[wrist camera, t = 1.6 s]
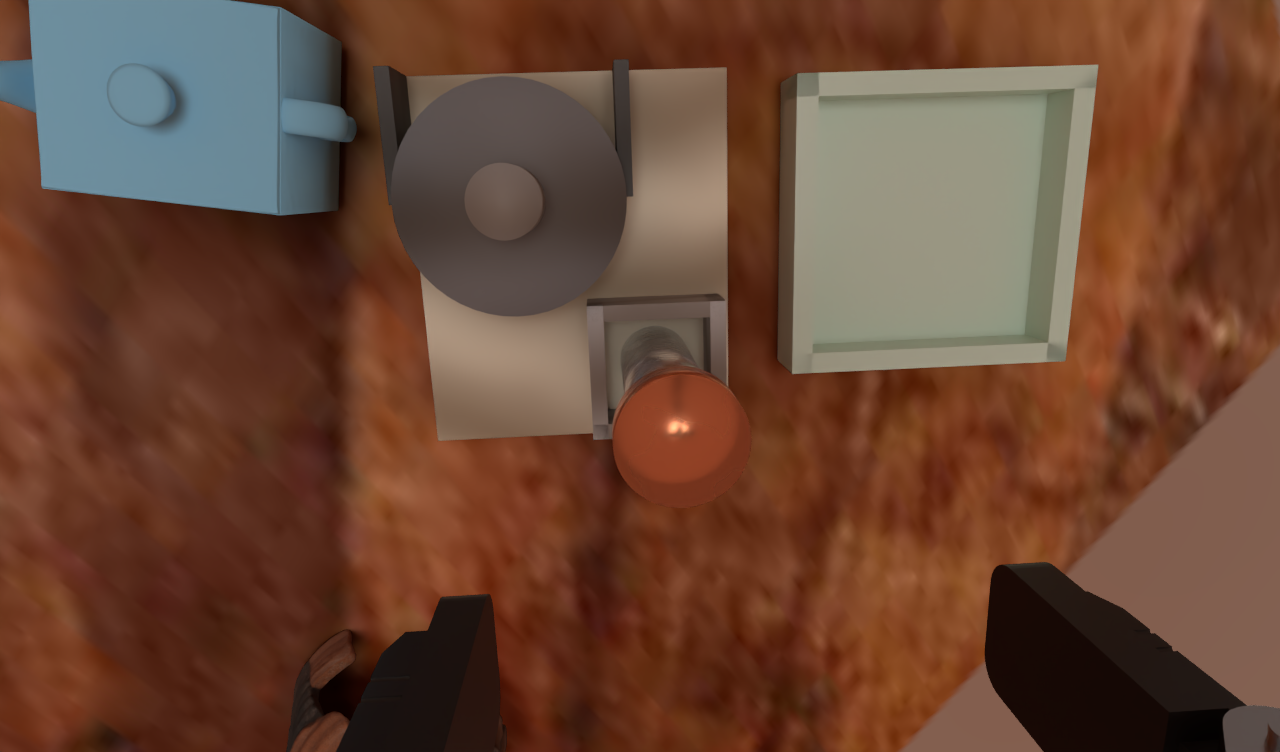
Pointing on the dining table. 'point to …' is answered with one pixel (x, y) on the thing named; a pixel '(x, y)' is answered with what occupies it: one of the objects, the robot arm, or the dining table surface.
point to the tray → (930, 216)
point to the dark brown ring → (323, 733)
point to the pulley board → (646, 260)
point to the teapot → (184, 103)
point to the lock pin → (676, 424)
